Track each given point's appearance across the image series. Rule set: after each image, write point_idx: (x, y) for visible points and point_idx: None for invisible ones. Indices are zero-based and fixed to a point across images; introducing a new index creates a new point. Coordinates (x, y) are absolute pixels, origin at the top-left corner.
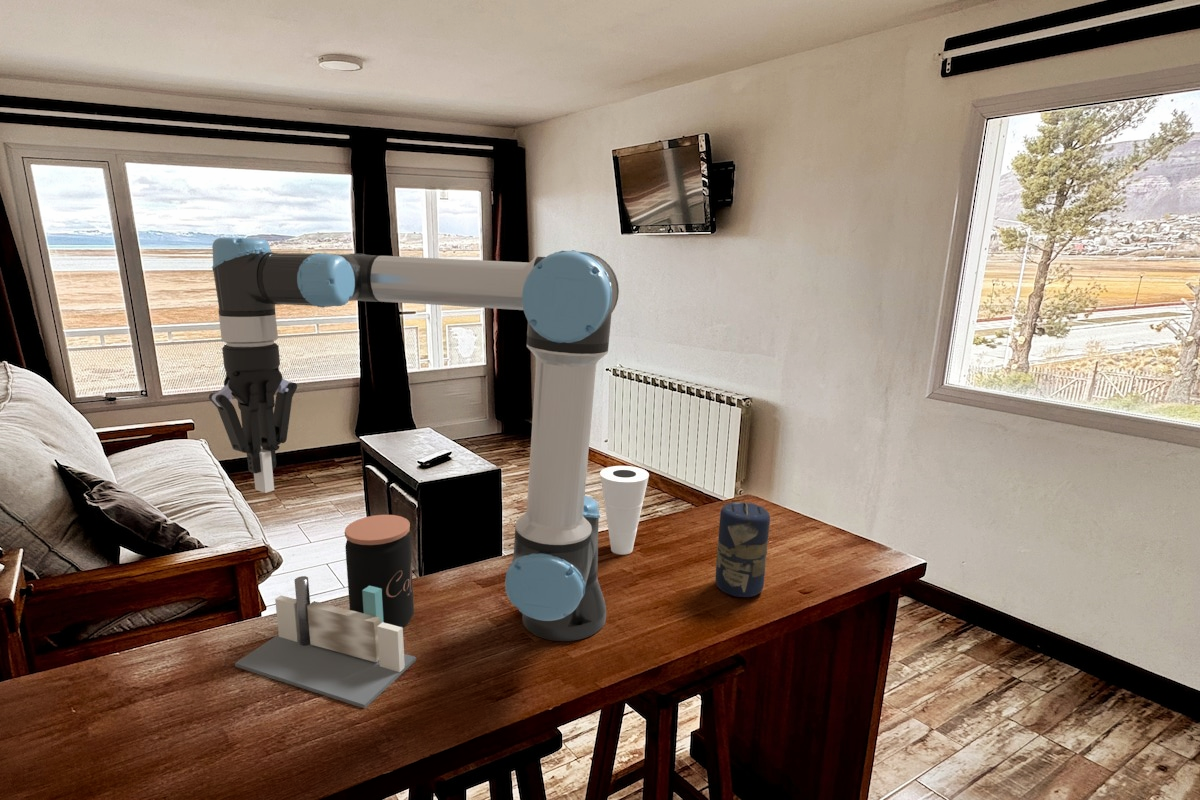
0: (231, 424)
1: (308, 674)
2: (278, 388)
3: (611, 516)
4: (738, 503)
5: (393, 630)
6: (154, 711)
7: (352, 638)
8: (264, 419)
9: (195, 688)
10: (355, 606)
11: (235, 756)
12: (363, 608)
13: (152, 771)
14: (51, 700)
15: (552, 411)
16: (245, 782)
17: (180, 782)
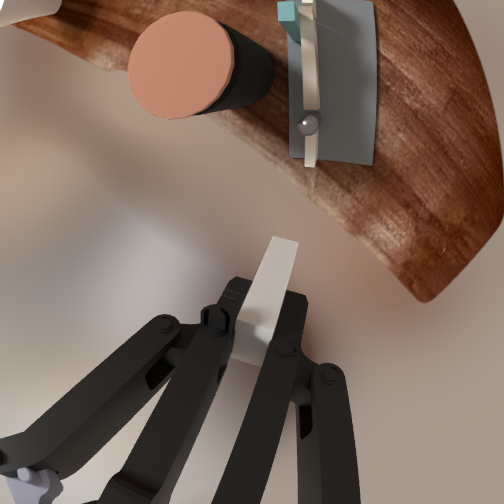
0: (357, 494)
1: (360, 77)
2: (53, 495)
3: (33, 3)
4: None
5: None
6: (439, 188)
7: (316, 45)
8: (184, 445)
9: (408, 177)
10: (266, 76)
11: (460, 80)
12: (298, 28)
13: (486, 136)
14: (434, 274)
15: None
16: (473, 57)
17: (488, 106)
